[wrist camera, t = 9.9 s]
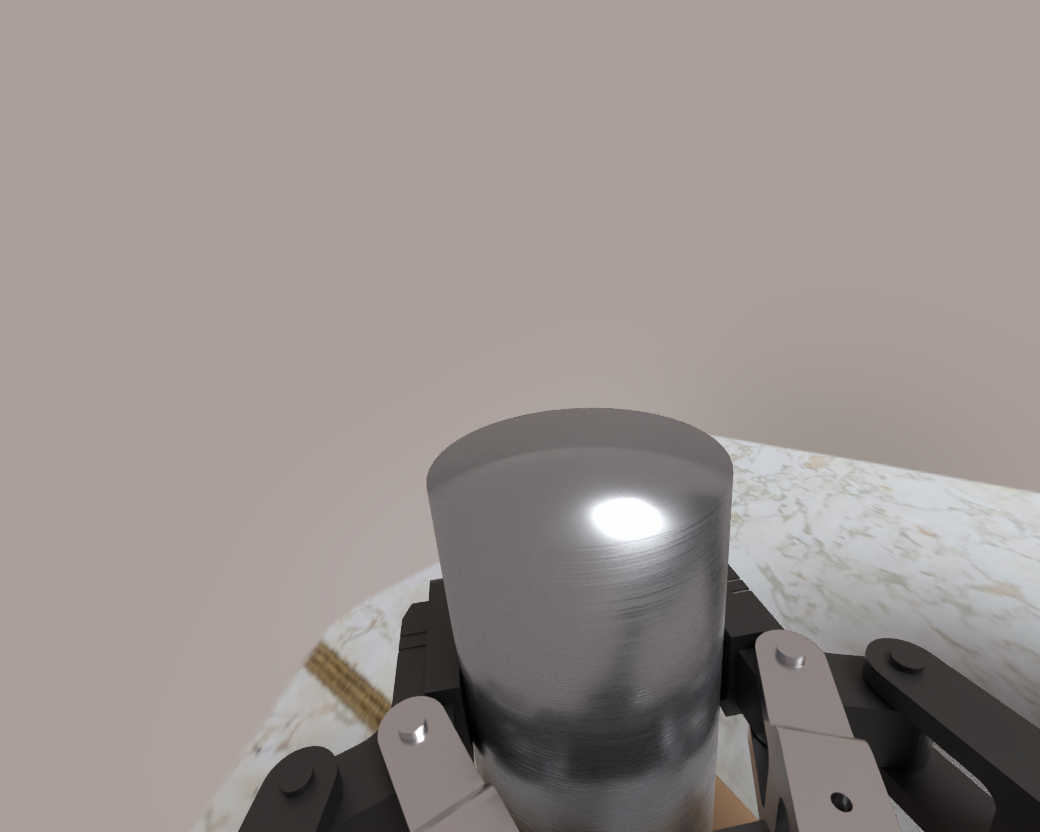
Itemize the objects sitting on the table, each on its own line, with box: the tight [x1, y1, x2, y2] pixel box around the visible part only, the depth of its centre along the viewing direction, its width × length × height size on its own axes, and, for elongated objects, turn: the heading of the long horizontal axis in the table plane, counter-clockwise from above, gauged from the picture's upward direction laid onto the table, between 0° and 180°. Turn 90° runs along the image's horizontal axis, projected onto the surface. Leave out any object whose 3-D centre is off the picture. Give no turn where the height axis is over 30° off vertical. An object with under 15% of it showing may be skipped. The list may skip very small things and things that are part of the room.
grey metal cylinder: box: [427, 408, 733, 832], centre depth 12 cm, size 6×6×12 cm
